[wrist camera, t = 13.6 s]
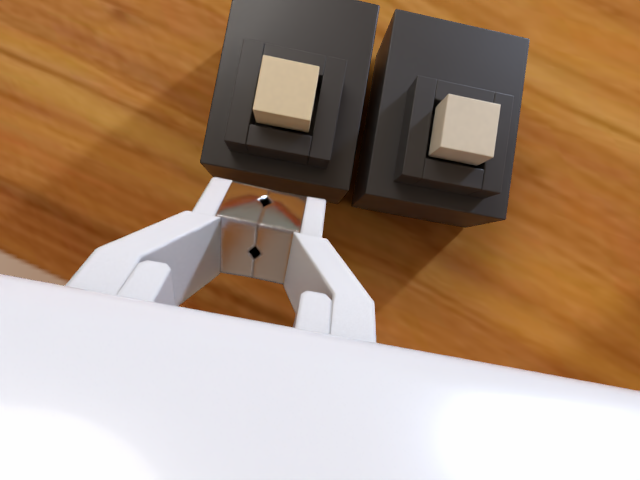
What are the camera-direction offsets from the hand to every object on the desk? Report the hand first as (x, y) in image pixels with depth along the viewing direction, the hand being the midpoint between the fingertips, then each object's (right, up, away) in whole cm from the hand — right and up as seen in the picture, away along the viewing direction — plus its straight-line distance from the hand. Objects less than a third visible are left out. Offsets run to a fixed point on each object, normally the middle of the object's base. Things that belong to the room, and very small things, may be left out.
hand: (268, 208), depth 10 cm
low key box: (+9, +7, +18) cm, 21 cm away
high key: (0, +7, +11) cm, 13 cm away
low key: (+9, +5, +11) cm, 15 cm away
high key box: (-1, +9, +17) cm, 19 cm away
